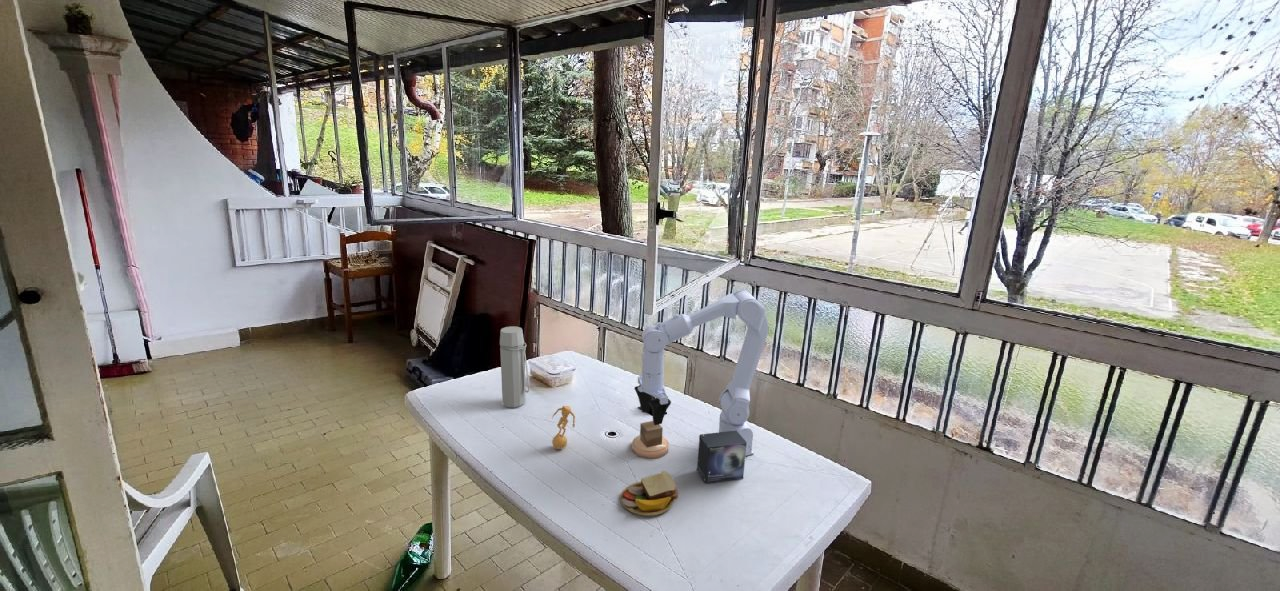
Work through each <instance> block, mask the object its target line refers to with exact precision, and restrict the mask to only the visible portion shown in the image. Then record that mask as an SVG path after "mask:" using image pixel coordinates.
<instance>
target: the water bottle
mask: <svg viewBox="0 0 1280 591" xmlns="http://www.w3.org/2000/svg"><path fill="white" fill-rule="evenodd" d="M523 332H524V331H523V328H522V327H519V326H505V327H502V328H501V329H500V332H499V333H500V335H499V346H500V348H499V350H500V351H499V352H500V373H501V398H502V404H503V406H504V407H507V408H509V409H510V408H511V409H512V408H513V409H515V408H520V407H522V406H524V405H525V403H526V402H527V401H526V393H529V392H530V389H531V388H530V386H531V384H530V377H529V376H530V375H529V369H528V363H527V356H526V354H527V353H526V350H527V349H526V348H527V343H526V342H525V339H524V333H523ZM526 377H527V389H526Z"/></svg>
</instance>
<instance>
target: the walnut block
mask: <svg viewBox="0 0 1280 591" xmlns="http://www.w3.org/2000/svg"><path fill="white" fill-rule="evenodd" d="M639 424H640V426H639V427H640V430H639V431H640V432H639V435H640V440H641V441H642V442H643V444H644V445H645V446H646V447H647V448H648V447H652V446H657V445H661V444H662V436H663V429H664V428H663V426H662V425H661V424H658V425H654V423H653V420H651V421H645V422H640V423H639Z"/></svg>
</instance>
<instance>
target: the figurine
mask: <svg viewBox="0 0 1280 591" xmlns="http://www.w3.org/2000/svg"><path fill="white" fill-rule="evenodd" d="M559 411H561V416H560V418H559V420H558V423H557V424H556V425H557V427H558V429H559V431H558V433H557V434H555V435H554V437H553V438H552V440H551V444H552V446H553V448H554V449H556V450H563V449H564V448H566V446H567V445H568V444H567V443H568V440H567V437H566V436H565V433H566V430H567V428H566V426H567V424H568V423H569V419H568V417H569V416H570V415H571V416H572V425H571V426H572V427H571V428H574V429H575V425H576V424H575V420H576V415H575V414H574V413H573V411H572V408H571V406H569V405H562V407H559V408H557V409H556V411H555V412H554V413H553V414H552V418H551V419H553V418H554V416H555V415H556V414H557V413H559ZM562 430H563V432H562ZM561 432H562V434H561Z"/></svg>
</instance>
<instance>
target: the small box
mask: <svg viewBox="0 0 1280 591" xmlns="http://www.w3.org/2000/svg"><path fill="white" fill-rule="evenodd" d="M698 437H699V439H698V451H697V452H698V453H697V466H696V471H697V473H698V474H699V476H700V477H701V479H702V481H703V482H704V484H711V483H712V484H713V483H718V482H719V483H720V482H726V481H733V480H734V481H735V480H743V479H744V476H745V475H744V474H745V462H746V456H745V454H746V445H747V442H746V441H745V440H744V439H743V437H742V436H741V435H740V434H739V433H738V432H737V430H736V431H727V432H719V431H717V432H713V433H712V432H709V433H701V434H699V436H698Z"/></svg>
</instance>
